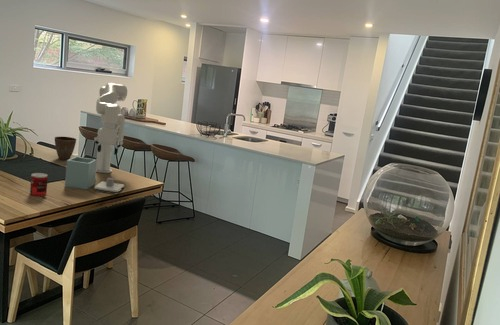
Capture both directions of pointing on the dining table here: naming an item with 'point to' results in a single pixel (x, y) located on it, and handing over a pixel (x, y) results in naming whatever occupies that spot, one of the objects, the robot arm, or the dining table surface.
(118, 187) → the lid
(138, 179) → the dining table surface
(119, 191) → the mat
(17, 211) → the dining table surface
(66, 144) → the plant pot
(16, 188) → the dining table surface
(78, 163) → the tub
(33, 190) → the canned food
